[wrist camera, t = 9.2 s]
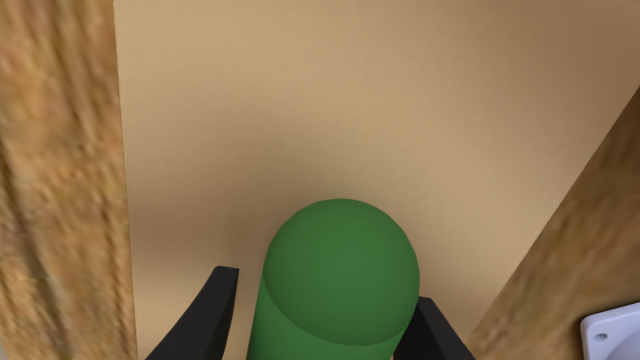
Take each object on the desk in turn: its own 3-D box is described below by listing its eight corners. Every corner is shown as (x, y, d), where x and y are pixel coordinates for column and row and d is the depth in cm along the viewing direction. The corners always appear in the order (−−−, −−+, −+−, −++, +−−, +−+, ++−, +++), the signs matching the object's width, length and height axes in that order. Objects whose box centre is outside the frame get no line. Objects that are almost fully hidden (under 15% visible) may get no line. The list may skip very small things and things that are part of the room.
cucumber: (342, 363, 14) (354, 485, 11) (245, 353, 13) (225, 478, 10) (418, 183, 10) (475, 292, 6) (280, 159, 9) (267, 264, 6)
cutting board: (393, 418, 18) (397, 445, 17) (152, 392, 17) (141, 420, 16) (661, -16, 8) (710, -14, 7) (129, -164, 7) (97, -188, 6)
